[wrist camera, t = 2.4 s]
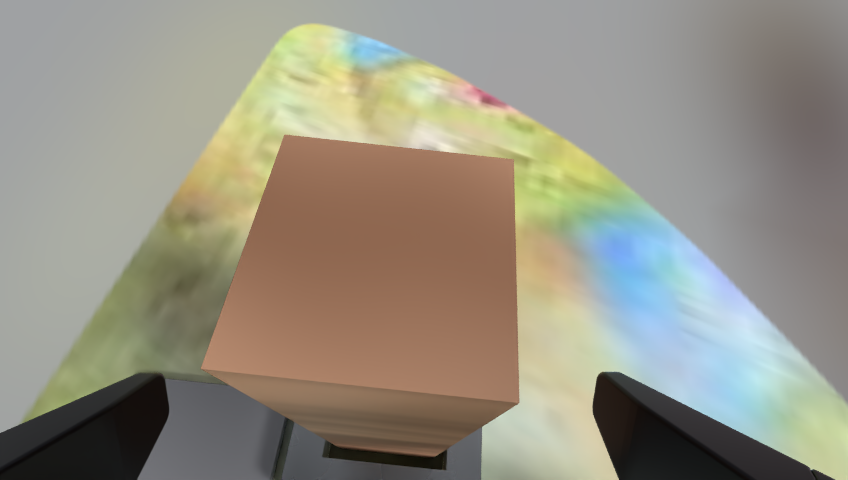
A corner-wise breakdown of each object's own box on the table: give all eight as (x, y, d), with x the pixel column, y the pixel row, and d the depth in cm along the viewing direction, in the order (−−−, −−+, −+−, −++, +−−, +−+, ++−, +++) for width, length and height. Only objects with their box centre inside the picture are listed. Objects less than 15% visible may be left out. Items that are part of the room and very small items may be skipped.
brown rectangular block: (432, 458, 16) (520, 403, 5) (340, 448, 16) (201, 368, 5) (439, 365, 18) (513, 159, 6) (357, 356, 18) (284, 135, 6)
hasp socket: (473, 513, 15) (480, 516, 14) (287, 493, 15) (277, 494, 14) (478, 332, 18) (484, 321, 17) (327, 316, 18) (321, 303, 17)
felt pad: (247, 585, 14) (243, 587, 13) (65, 565, 14) (56, 568, 13) (293, 393, 17) (291, 392, 16) (144, 377, 17) (138, 375, 16)
